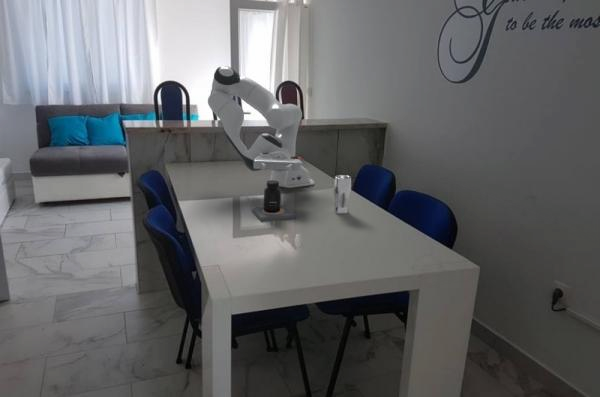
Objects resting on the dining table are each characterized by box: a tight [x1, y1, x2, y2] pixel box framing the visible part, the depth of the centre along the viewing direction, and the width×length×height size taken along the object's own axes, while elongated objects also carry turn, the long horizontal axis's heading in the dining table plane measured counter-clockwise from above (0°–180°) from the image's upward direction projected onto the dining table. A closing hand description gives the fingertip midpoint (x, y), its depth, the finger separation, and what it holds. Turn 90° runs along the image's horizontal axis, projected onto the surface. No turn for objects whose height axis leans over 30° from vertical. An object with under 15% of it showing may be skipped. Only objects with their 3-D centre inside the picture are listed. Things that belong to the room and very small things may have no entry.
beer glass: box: [333, 174, 352, 215], centre depth 193 cm, size 7×7×15 cm
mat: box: [251, 204, 296, 222], centre depth 189 cm, size 14×13×2 cm
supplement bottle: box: [263, 179, 282, 213], centre depth 187 cm, size 7×7×12 cm
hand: (275, 168), depth 193 cm, fingers open, 8 cm apart
